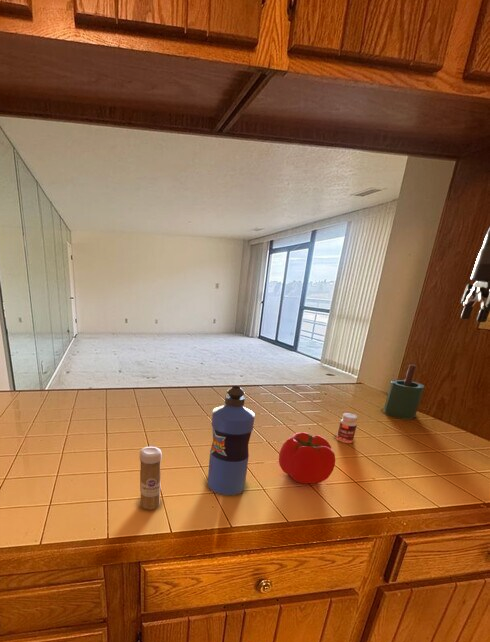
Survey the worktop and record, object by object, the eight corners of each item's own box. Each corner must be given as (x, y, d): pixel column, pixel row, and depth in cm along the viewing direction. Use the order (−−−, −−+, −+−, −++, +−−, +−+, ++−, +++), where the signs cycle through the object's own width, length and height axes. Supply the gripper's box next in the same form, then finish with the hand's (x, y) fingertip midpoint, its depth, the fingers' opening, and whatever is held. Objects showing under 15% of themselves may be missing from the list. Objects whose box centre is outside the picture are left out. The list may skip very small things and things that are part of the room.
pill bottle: (336, 441, 108) (342, 417, 105) (335, 435, 112) (341, 411, 109) (353, 444, 106) (359, 419, 103) (352, 438, 110) (358, 414, 107)
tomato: (282, 458, 97) (288, 424, 93) (333, 471, 91) (341, 435, 87) (269, 481, 87) (275, 443, 83) (326, 497, 80) (336, 458, 76)
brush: (403, 410, 132) (417, 364, 125) (407, 414, 129) (422, 366, 122) (391, 409, 133) (404, 363, 126) (395, 413, 129) (409, 366, 122)
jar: (408, 410, 135) (417, 381, 130) (419, 420, 126) (429, 389, 121) (379, 408, 137) (387, 379, 132) (388, 417, 128) (397, 386, 123)
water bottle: (219, 499, 79) (229, 396, 69) (200, 479, 87) (206, 383, 77) (253, 490, 82) (267, 391, 73) (231, 471, 90) (241, 379, 81)
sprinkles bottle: (144, 512, 74) (144, 457, 69) (137, 500, 78) (136, 447, 73) (163, 507, 76) (165, 453, 71) (155, 496, 80) (156, 444, 75)
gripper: (525, 262, 93) (501, 323, 100) (491, 264, 106) (472, 318, 112) (492, 261, 95) (471, 322, 101) (463, 263, 108) (446, 317, 114)
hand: (472, 320), depth 107 cm, fingers open, 8 cm apart
